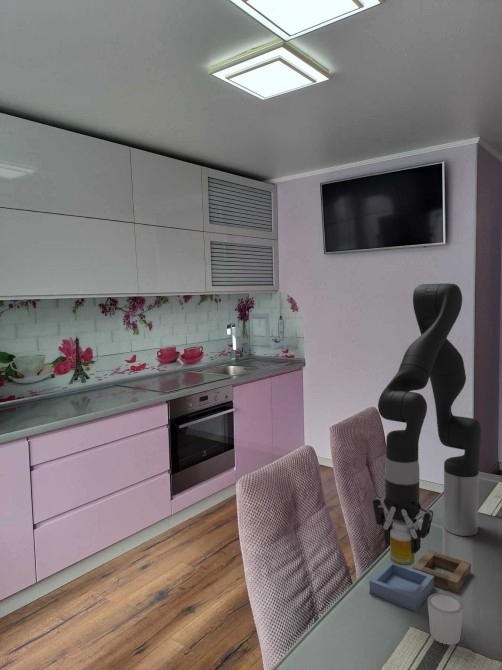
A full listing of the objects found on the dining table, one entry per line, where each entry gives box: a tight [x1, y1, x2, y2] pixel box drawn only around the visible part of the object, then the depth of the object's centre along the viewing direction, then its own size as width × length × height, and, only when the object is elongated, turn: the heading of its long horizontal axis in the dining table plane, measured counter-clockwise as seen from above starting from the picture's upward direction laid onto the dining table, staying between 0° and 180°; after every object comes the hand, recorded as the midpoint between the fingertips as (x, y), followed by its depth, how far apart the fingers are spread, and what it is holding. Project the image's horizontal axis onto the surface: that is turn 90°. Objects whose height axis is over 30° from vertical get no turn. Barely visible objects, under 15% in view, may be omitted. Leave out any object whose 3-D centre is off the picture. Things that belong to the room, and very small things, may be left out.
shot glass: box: [427, 592, 464, 646], centre depth 101 cm, size 7×7×7 cm
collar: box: [411, 549, 472, 594], centre depth 122 cm, size 10×10×2 cm
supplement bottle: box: [389, 519, 415, 568], centre depth 115 cm, size 5×5×10 cm
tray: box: [369, 560, 435, 612], centre depth 116 cm, size 11×11×3 cm
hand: (402, 547), depth 115 cm, fingers closed on supplement bottle, 5 cm apart
